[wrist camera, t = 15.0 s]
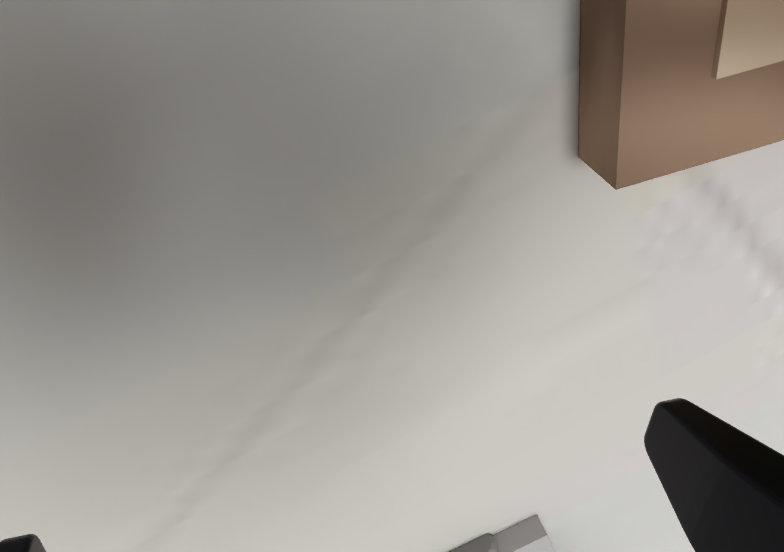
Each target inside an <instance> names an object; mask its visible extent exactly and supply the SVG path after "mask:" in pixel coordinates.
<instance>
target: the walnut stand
mask: <svg viewBox="0 0 784 552" xmlns="http://www.w3.org/2000/svg"><path fill="white" fill-rule="evenodd" d="M782 140H784V0H581V26H580V94H579V158H580V159H581V160H582V161H584V162H585V163H586V164H587V165H588V166H589V167H590V168H592V169H593V170H594V171H595V172H596V173H597V174H598V175H600V176H601V177H602V178H603V179H604V180H605V181H607V182H608V183H609V184H610V185H611V186H612V187H613V188H615V189H620V188H623V187H627V186H630V185H633V184H637V183H640V182H644V181H647V180H650V179H654V178H657V177H660V176H664V175H667V174H671V173H674V172H677V171H681V170H684V169H687V168H691V167H694V166H698V165H701V164H704V163H708V162H711V161H714V160H718V159H721V158H725V157H728V156H731V155H735V154H738V153H741V152H745V151H748V150H752V149H755V148H758V147H762V146H765V145H768V144H772V143H775V142H779V141H782Z"/></svg>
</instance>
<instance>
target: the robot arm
mask: <svg viewBox="0 0 784 552" xmlns="http://www.w3.org/2000/svg"><path fill="white" fill-rule="evenodd" d="M644 443H645V448H646V451H647V454H648V456H649V458H650V460H651V462H652V464H653V466H654V469H655V471H656V473H657V475H658V477H659V479H660V481H661V483H662V485H663V488H664V490H665V492H666V494H667V496H668V498H669V500H670V502H671V505H672V507H673V509H674V511H675V513H676V515H677V517H678V519H679V521H680V524H681V526H682V528H683V530H684V532H685V534H686V535H687V537H688V539H689V541H690V543H691V545H692V546H693V548H694V550H695V552H784V455H782V454H780V453H779V452H777V451H775V450H773V449H772V448H770V447H768V446H766V445H765V444H763V443H761V442H759V441H758V440H756V439H754V438H752V437H751V436H749V435H747V434H745V433H744V432H742V431H740V430H738V429H737V428H735V427H733V426H731V425H730V424H728V423H726V422H725V421H723V420H721V419H719V418H718V417H716V416H714V415H712V414H711V413H709V412H707V411H705V410H704V409H702V408H700V407H698V406H697V405H695V404H693V403H691V402H690V401H688V400H685V399H681V398H677V399H672V400H667V401H662V402H659V403H658V404H657V405H656V406H655V408H654V410H653V413H652V416H651V419H650V422H649V424H648V427H647V430H646V433H645V436H644ZM0 552H46V551H45V549H44V547H43V545H42V543H41V541H40V539H39V538H38V537H37V536H36V535H34V534H27V535H23V536H18V537H13V538H8V539H5V540H2V541H1V542H0Z"/></svg>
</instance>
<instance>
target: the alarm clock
mask: <svg viewBox="0 0 784 552" xmlns="http://www.w3.org/2000/svg"><path fill="white" fill-rule="evenodd" d="M450 552H555V550H554V548H553V546H552V544H551V542H550V540H549V538H548V535H547V534H546V532H545V530H544V528H543V526H542V524H541V522H540V520H539V518H538V516H537V515H535V516H533V517H530V518H528V519H526V520H524V521H522V522H520V523H518V524H516V525H514V526H512V527H510V528H508V529H506V530H504V531H502V532H499V533H497V534H495V535H493V536H492V535H490V534H485V535H483V536H481V537H479V538H477V539H475V540H472V541H470V542H468V543H466V544H464V545H462V546H460V547H458V548H456V549H454V550H452V551H450Z"/></svg>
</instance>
